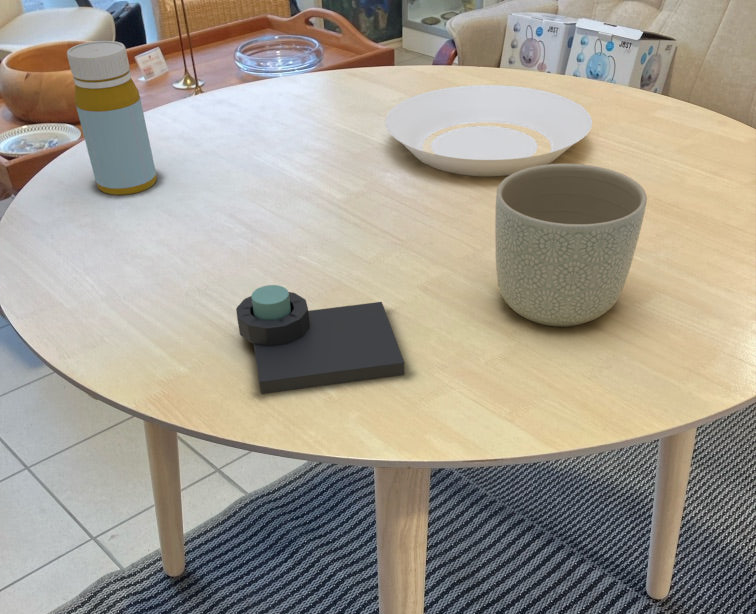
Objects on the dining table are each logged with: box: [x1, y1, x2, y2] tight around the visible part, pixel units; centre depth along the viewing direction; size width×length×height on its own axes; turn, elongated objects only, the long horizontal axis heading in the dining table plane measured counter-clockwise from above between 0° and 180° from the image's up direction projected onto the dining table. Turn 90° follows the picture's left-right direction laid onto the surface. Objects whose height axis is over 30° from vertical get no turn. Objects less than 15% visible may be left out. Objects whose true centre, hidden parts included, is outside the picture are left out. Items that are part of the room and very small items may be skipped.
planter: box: [494, 163, 648, 328], centre depth 75 cm, size 12×12×11 cm
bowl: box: [384, 84, 593, 177], centre depth 105 cm, size 25×25×4 cm
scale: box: [235, 291, 405, 395], centre depth 74 cm, size 13×11×4 cm
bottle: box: [66, 40, 158, 196], centre depth 97 cm, size 7×7×15 cm
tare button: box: [250, 284, 291, 320], centre depth 73 cm, size 3×3×2 cm
